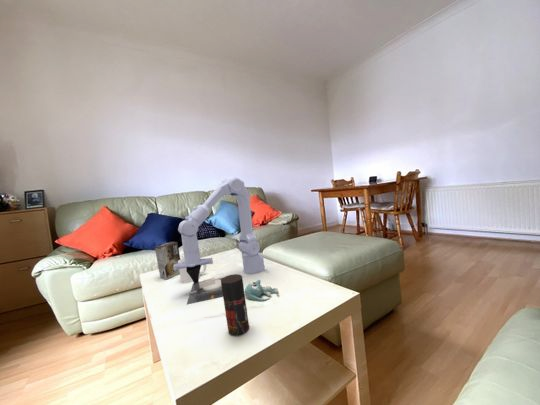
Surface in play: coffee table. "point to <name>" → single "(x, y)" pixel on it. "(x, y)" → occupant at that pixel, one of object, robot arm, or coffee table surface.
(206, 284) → the dial
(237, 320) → the deodorant
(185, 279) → the mug
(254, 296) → the stuffed animal
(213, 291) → the panel
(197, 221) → the robot arm
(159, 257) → the coffee box
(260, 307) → the coffee table surface
